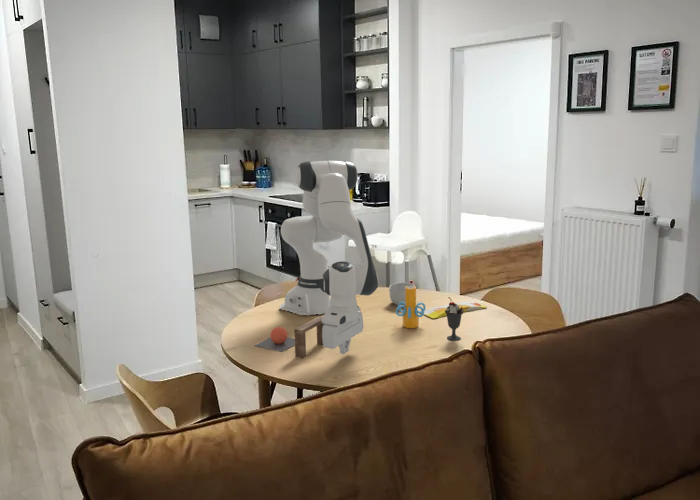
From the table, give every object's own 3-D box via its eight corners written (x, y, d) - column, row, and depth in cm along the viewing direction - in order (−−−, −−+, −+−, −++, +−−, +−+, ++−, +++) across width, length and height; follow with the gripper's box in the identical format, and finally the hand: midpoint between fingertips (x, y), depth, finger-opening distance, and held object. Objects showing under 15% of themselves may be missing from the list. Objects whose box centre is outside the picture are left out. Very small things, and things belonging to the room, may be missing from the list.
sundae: (442, 335, 223) (442, 295, 219) (460, 334, 223) (461, 294, 220) (446, 342, 216) (447, 300, 213) (465, 341, 217) (466, 299, 213)
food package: (432, 315, 240) (418, 309, 248) (432, 321, 240) (418, 314, 249) (487, 304, 252) (472, 298, 261) (487, 309, 253) (471, 303, 262)
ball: (278, 328, 213) (282, 345, 213) (288, 323, 218) (292, 339, 218) (264, 331, 216) (269, 347, 216) (274, 325, 221) (279, 341, 222)
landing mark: (254, 345, 216) (254, 345, 216) (275, 335, 226) (275, 334, 226) (282, 352, 210) (282, 351, 210) (302, 340, 220) (302, 340, 220)
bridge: (295, 356, 206) (294, 329, 203) (320, 342, 218) (319, 316, 216) (302, 358, 204) (301, 330, 202) (327, 343, 217) (326, 317, 215)
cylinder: (423, 332, 226) (423, 292, 223) (394, 330, 229) (394, 291, 225) (426, 321, 238) (426, 283, 235) (398, 320, 240) (398, 282, 237)
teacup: (416, 307, 255) (416, 288, 254) (389, 308, 256) (389, 289, 254) (413, 297, 269) (413, 280, 267) (388, 298, 269) (388, 280, 268)
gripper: (351, 302, 212) (352, 340, 215) (318, 319, 194) (319, 361, 197) (367, 305, 208) (368, 344, 211) (335, 322, 191) (336, 365, 194)
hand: (344, 352), depth 204 cm, fingers closed
